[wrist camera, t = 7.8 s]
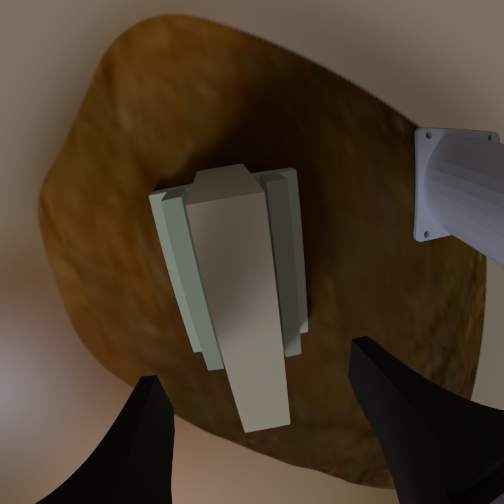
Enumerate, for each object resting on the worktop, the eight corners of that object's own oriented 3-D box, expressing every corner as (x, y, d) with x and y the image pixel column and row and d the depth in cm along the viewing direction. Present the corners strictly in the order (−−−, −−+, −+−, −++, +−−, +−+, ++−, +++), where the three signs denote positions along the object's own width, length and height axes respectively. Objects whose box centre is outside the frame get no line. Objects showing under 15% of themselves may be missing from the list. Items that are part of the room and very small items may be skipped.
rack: (291, 167, 17) (307, 176, 14) (304, 323, 21) (316, 350, 19) (152, 191, 16) (140, 205, 14) (194, 343, 21) (193, 372, 18)
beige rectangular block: (268, 342, 20) (290, 424, 14) (234, 348, 20) (245, 432, 14) (242, 163, 15) (264, 191, 9) (197, 171, 15) (185, 205, 9)
